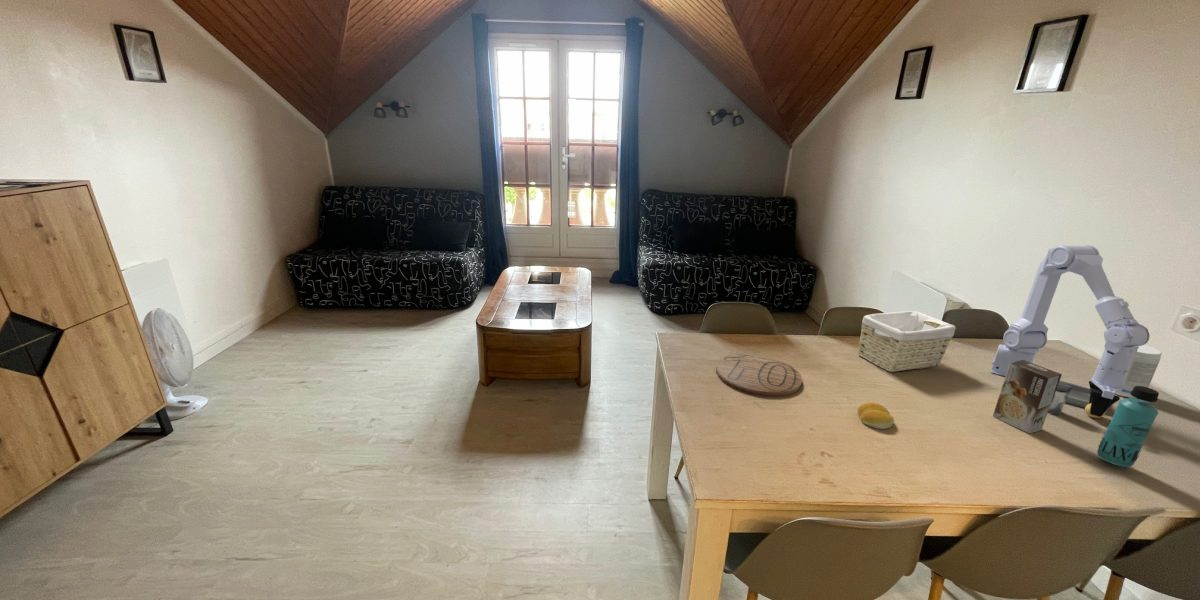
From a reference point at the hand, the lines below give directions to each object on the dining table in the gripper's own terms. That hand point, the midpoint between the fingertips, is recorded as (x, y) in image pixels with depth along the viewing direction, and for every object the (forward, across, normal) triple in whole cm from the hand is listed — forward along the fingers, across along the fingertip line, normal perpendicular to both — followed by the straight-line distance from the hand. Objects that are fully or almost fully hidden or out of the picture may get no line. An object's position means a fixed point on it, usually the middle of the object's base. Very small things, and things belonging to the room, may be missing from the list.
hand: (1094, 411), depth 137 cm
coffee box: (+2, -19, +16) cm, 25 cm away
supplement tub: (+2, +27, -8) cm, 28 cm away
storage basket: (+2, +1, +48) cm, 48 cm away
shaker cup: (+2, -4, +9) cm, 10 cm away
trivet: (+2, -43, +78) cm, 89 cm away
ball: (0, 0, 0) cm, 0 cm away
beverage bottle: (+2, -26, -2) cm, 26 cm away
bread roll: (+2, -45, +45) cm, 64 cm away
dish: (+2, +11, +3) cm, 12 cm away
